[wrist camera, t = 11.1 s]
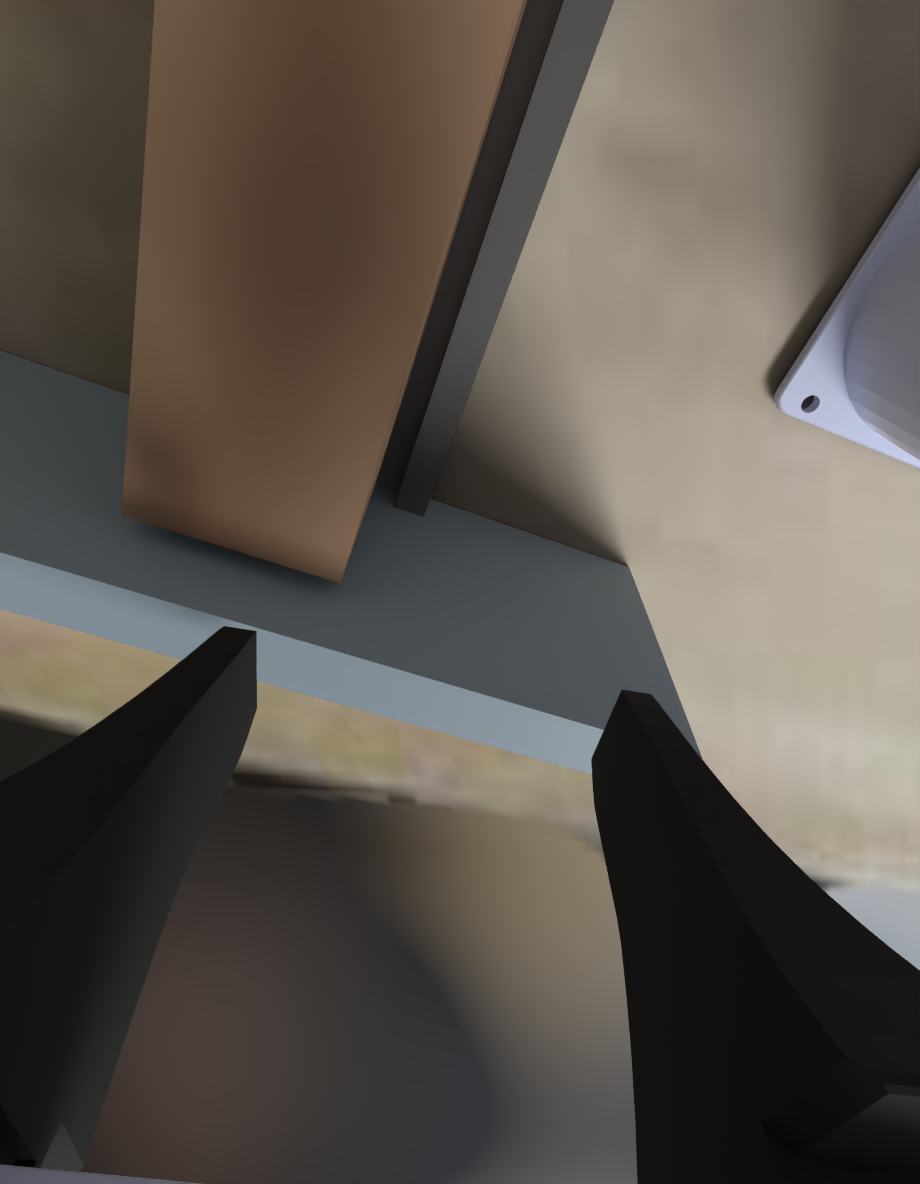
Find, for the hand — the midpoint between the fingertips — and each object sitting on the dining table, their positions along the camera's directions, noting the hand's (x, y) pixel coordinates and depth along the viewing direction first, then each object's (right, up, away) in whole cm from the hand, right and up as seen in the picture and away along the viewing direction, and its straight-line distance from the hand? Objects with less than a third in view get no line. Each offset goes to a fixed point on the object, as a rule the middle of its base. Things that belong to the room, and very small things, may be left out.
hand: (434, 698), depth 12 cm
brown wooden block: (-2, +12, +4) cm, 13 cm away
